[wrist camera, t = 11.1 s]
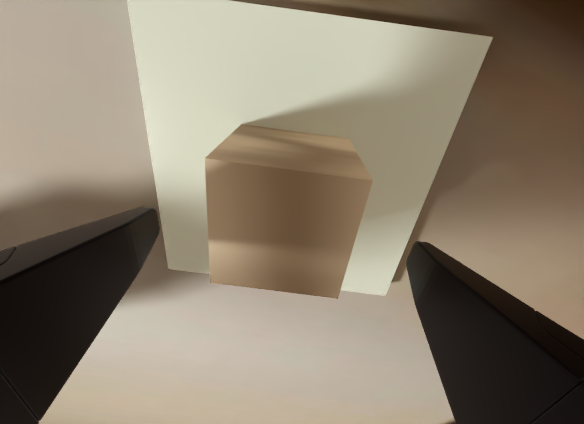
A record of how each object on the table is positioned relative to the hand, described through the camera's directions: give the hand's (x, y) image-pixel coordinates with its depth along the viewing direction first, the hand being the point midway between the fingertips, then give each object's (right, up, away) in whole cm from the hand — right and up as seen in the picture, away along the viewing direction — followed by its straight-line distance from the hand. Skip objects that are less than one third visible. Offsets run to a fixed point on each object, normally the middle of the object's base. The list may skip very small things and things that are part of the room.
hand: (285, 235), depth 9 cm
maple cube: (0, +2, +4) cm, 5 cm away
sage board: (0, +3, +5) cm, 6 cm away
